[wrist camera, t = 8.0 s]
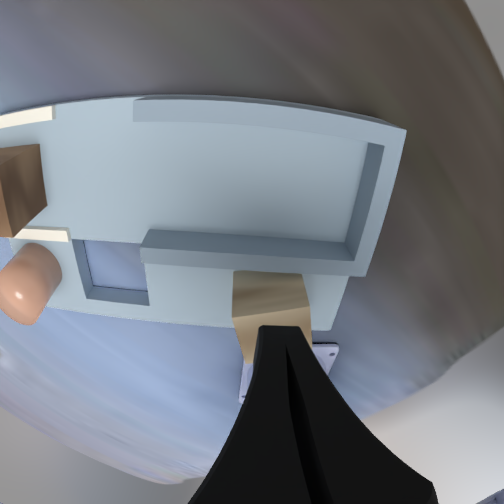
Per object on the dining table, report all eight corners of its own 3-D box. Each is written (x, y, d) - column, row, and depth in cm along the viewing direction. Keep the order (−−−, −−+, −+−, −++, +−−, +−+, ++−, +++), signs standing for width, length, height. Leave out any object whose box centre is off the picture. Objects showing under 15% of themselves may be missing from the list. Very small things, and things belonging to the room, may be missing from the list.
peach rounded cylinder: (68, 291, 20) (45, 329, 16) (28, 285, 19) (4, 319, 16) (54, 244, 18) (25, 280, 14) (13, 241, 17) (-17, 273, 14)
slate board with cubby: (326, 316, 23) (335, 350, 20) (38, 292, 22) (20, 320, 19) (378, 118, 15) (406, 130, 13) (0, 113, 14) (-33, 126, 11)
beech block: (302, 309, 21) (312, 354, 17) (244, 317, 21) (245, 363, 18) (298, 261, 19) (310, 306, 15) (233, 271, 19) (231, 317, 16)
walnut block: (47, 205, 16) (13, 238, 13) (5, 204, 16) (-30, 234, 12) (39, 143, 14) (-2, 166, 11) (-4, 148, 14) (-45, 170, 10)
